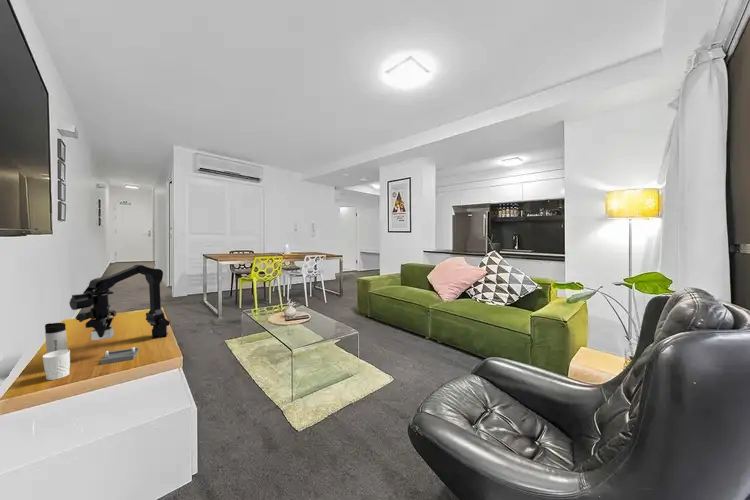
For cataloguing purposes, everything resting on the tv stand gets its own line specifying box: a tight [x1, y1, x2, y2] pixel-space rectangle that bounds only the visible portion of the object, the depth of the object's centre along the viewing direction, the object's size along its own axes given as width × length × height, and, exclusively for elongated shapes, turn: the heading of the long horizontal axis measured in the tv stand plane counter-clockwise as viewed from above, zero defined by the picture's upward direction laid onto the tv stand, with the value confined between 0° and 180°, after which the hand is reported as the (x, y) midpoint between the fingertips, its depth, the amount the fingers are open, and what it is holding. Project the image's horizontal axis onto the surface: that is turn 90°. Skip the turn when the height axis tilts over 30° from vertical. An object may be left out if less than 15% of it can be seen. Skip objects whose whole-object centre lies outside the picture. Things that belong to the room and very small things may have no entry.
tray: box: [100, 346, 139, 365], centre depth 142 cm, size 12×10×4 cm
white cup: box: [42, 349, 71, 381], centre depth 124 cm, size 8×8×10 cm
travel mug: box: [44, 322, 68, 354], centre depth 132 cm, size 6×7×20 cm
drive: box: [90, 326, 114, 341], centre depth 144 cm, size 7×4×4 cm, turn 117°
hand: (102, 335), depth 144 cm, fingers closed on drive, 4 cm apart
